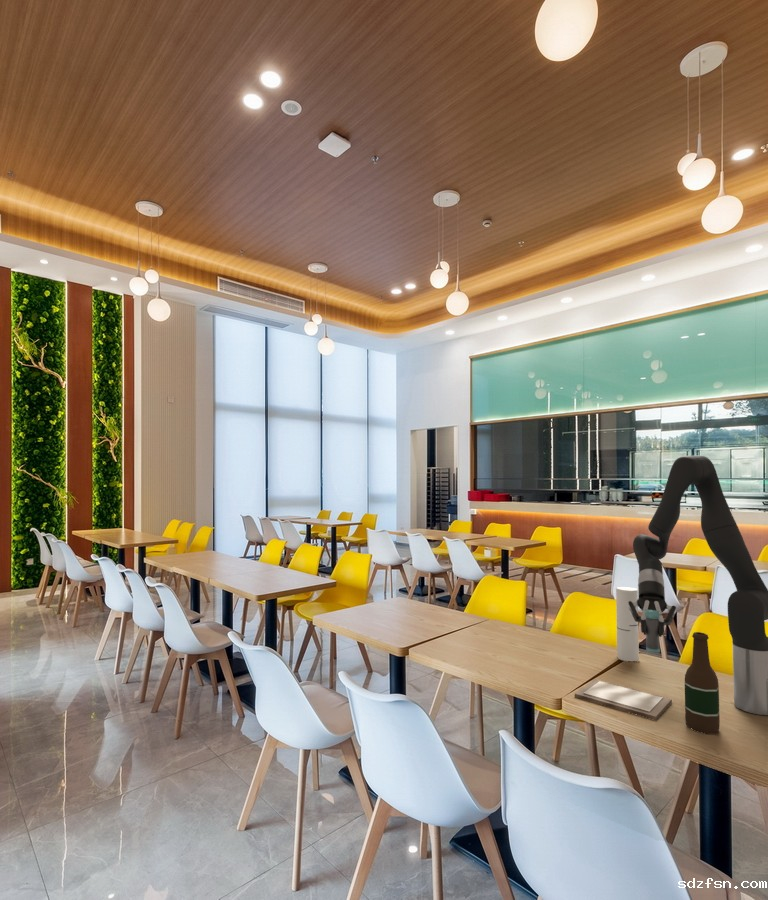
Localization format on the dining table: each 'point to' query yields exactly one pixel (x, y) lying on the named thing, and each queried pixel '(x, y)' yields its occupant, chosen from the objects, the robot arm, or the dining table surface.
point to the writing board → (624, 699)
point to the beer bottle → (701, 689)
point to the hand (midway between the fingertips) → (652, 634)
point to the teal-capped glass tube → (652, 631)
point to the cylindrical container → (626, 625)
